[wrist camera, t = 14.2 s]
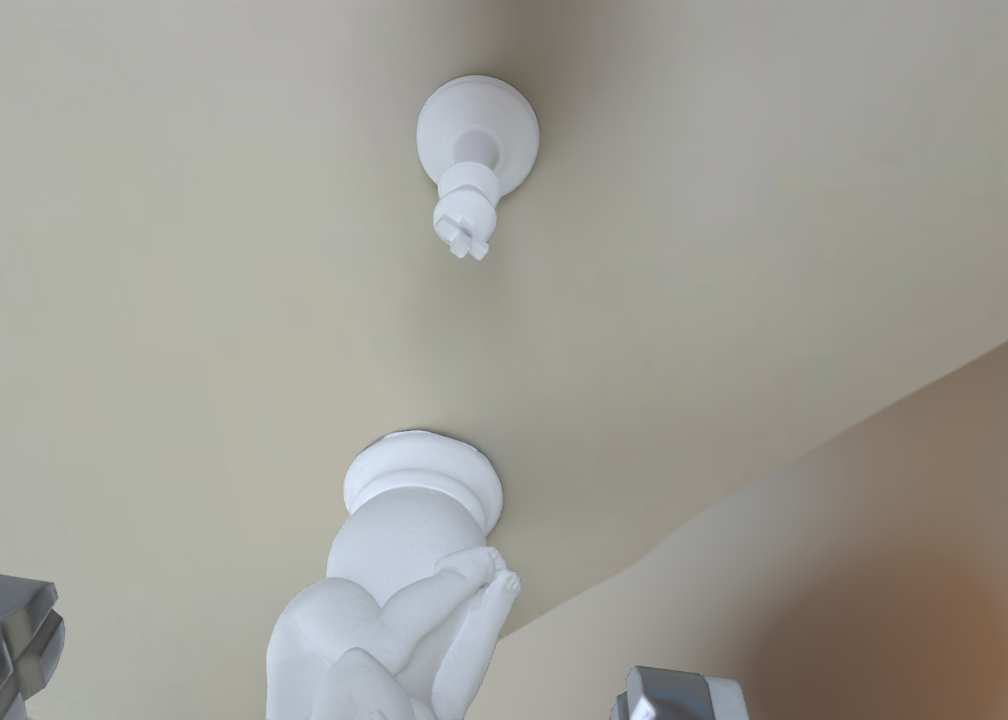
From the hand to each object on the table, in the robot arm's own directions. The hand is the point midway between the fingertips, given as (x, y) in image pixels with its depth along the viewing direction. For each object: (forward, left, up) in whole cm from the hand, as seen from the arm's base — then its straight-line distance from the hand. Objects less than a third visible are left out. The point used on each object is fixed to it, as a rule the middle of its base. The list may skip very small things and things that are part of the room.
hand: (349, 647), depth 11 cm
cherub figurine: (+7, +20, -24) cm, 32 cm away
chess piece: (0, 0, -24) cm, 24 cm away
